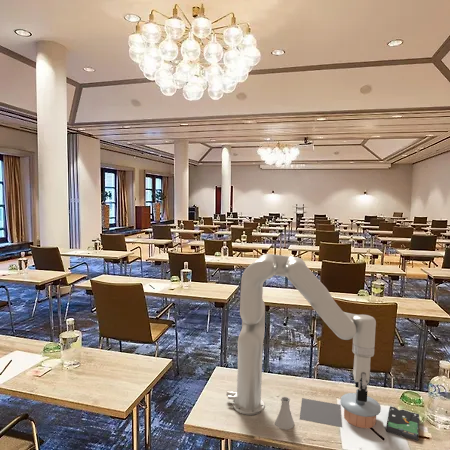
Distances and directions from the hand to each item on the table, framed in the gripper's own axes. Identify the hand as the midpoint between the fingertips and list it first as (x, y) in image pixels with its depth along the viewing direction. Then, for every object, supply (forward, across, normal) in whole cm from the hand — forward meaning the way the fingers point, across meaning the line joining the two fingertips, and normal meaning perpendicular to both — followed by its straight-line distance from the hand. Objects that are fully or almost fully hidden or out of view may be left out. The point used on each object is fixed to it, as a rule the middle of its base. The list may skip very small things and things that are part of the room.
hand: (360, 393), depth 133 cm
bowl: (+10, 0, 0) cm, 10 cm away
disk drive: (+11, -2, +15) cm, 19 cm away
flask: (+11, +12, -26) cm, 31 cm away
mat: (+10, 0, -14) cm, 17 cm away
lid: (+4, 0, 0) cm, 4 cm away
